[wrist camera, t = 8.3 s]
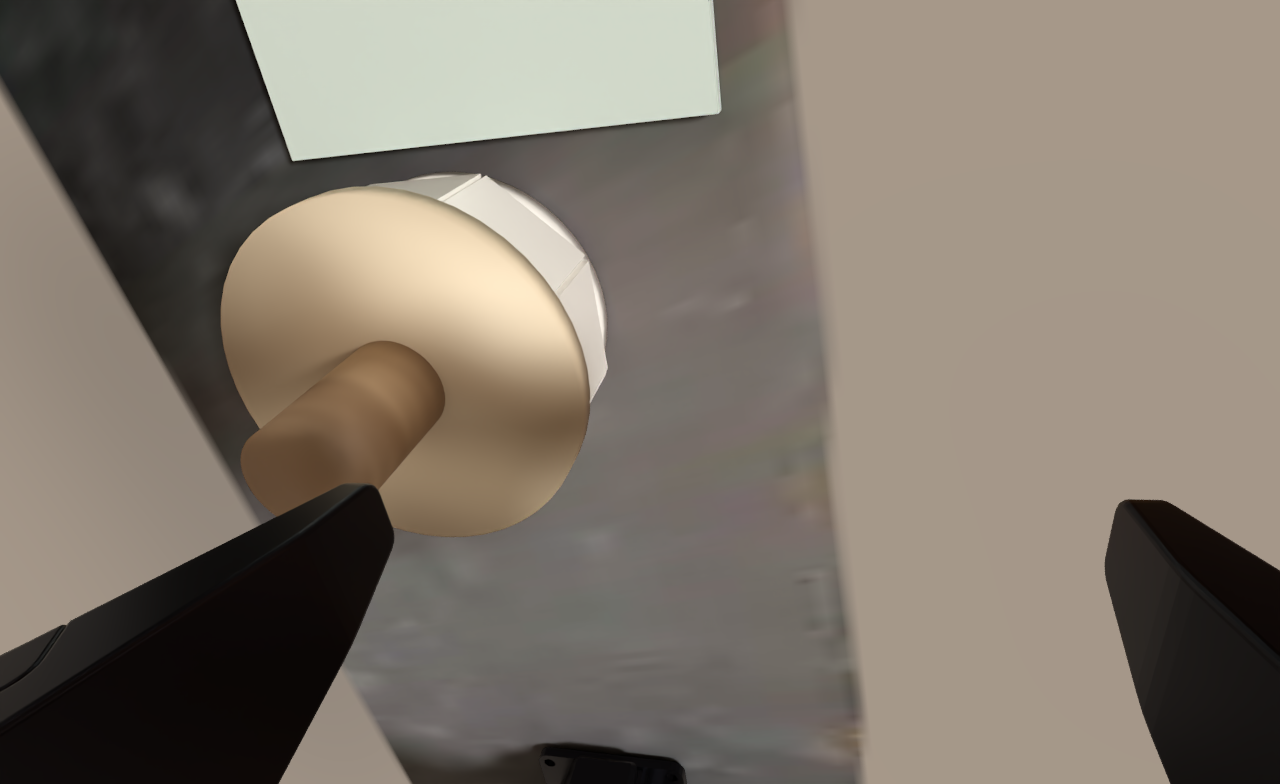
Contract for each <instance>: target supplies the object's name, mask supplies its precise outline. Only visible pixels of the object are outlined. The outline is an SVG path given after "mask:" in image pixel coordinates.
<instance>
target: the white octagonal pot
mask: <svg viewBox="0 0 1280 784" xmlns="http://www.w3.org/2000/svg"><path fill="white" fill-rule="evenodd" d="M368 186H379V187H387V188H395V189H403V190H407V191H411V192H414V193H418V194H422V195H426V196H429V197H432V198H434V199H437V200H439V201H442V202H444V203H447V204H449V205H452V206H454V207H456V208H458V209H460V210H462V211H464V212H465V213H467V214H469V215H471V216H473V217H474V218H476V219H478V220H480V221H481V222H483V223H484V224H486V225H487V226H488V227H490V228H491V229H493V230H494V231H496V232H497V233H498V234H500V235H501V236H503V237H504V238H505V239H506V240H507V241H508V242H510V243H511V244H512V245H513V246H514V247H515V248H516V249H517V250H518V251H520V252H521V253H522V254H523V255H524V256H525V257H526V258H527V259H528V260H529V261H530V262H531V264H532V265H533V266H534V267H535V268H536V269H537V270H538V271H539V273H540V274H541V275H542V276H543V277H544V278H545V280H546V281H547V283H548V284H549V285H550V287H551V288H552V290H553V291H554V292H555V294H556V295H557V297H558V298H559V299H560V301H561V303H562V305H563V307H564V308H565V310H566V312H567V314H568V316H569V318H570V319H571V321H572V323H573V326H574V328H575V331H576V333H577V336H578V338H579V341H580V343H581V346H582V349H583V353H584V357H585V361H586V365H587V369H588V377H589V385H590V403H591V401H592V399H593V397H594V395H595V393H596V392H597V390H598V388H599V386H600V384H601V382H602V380H603V379H604V377H605V375H606V371H607V369H608V367H607V361H606V356H605V347H606V342H607V325H608V322H607V312H606V304H605V300H604V296H603V292H602V287H601V285H600V282H599V280H598V277H597V274H596V272H595V269H594V267H593V265H592V264H591V262H590V260H589V258H588V256H587V254H586V252H585V251H584V249H583V248H582V246H581V245H580V244H579V242H578V241H577V239H576V238H575V236H574V235H573V234H572V233H571V232H570V231H569V229H568V228H567V227H566V226H565V225H564V224H563V223H562V221H561V220H559V219H558V218H557V217H556V216H555V215H554V214H553V213H552V212H551V211H550V210H548V209H547V208H546V207H545V206H543V205H542V204H541V203H539V202H538V201H536V200H535V199H534V198H532V197H531V196H529V195H528V194H526V193H524V192H522V191H520V190H518V189H517V188H515V187H513V186H511V185H508V184H506V183H503V182H501V181H498V180H496V179H493V178H489V177H488V176H482V175H481V174H473V173H464V172H435V173H429V174H424V175H419V176H416V177H414V178H411V179H408V180H405V181H399V182H389V183H379V184H370V185H368ZM366 187H367V186H366Z"/></svg>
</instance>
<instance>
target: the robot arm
mask: <svg viewBox="0 0 1280 784" xmlns="http://www.w3.org/2000/svg"><path fill="white" fill-rule="evenodd" d="M393 544H394V530H393V527H392V524H391V521H390V519H389V516H388V513H387V511H386V508H385V505H384V503H383V500H382V497H381V495H380V492H379V490H378V489H377V488H376V487H375V486H374V485H372V484H370V483H344V484H341V485H339V486H337V487H335V488H333V489H331V490H329V491H327V492H325V493H323V494H321V495H319V496H317V497H315V498H313V499H311V500H309V501H307V502H305V503H303V504H301V505H299V506H297V507H295V508H293V509H291V510H289V511H287V512H285V513H283V514H281V515H279V516H277V517H275V518H273V519H272V520H270V521H268V522H266V523H264V524H262V525H260V526H258V527H256V528H254V529H252V530H250V531H248V532H246V533H244V534H242V535H240V536H238V537H236V538H234V539H232V540H230V541H228V542H226V543H224V544H222V545H220V546H218V547H216V548H214V549H212V550H210V551H208V552H206V553H204V554H202V555H200V556H198V557H196V558H194V559H192V560H190V561H188V562H186V563H184V564H182V565H180V566H178V567H176V568H174V569H172V570H170V571H168V572H166V573H164V574H162V575H161V576H158V577H156V578H154V579H152V580H150V581H148V582H146V583H144V584H142V585H140V586H138V587H137V588H134V589H133V590H131V591H129V592H127V593H124V594H123V595H121V596H119V597H117V598H115V599H113V600H111V601H109V602H107V603H105V604H103V605H101V606H99V607H97V608H95V609H93V610H91V611H89V612H87V613H85V614H83V615H81V616H79V617H77V618H75V619H73V620H71V621H70V622H69V623H68V624H67V625H61V626H59V627H57V628H55V629H53V630H51V631H49V632H47V633H45V634H43V635H41V636H39V637H37V638H35V639H33V640H31V641H29V642H27V643H25V644H23V645H21V646H19V647H17V648H15V649H13V650H11V651H8V652H6V653H4V654H2V655H0V784H279V782H280V780H281V778H282V776H283V774H284V772H285V771H286V769H287V767H288V765H289V763H290V761H291V759H292V757H293V756H294V754H295V752H296V750H297V748H298V746H299V744H300V742H301V741H302V739H303V737H304V735H305V733H306V731H307V729H308V727H309V726H310V724H311V722H312V720H313V718H314V716H315V714H316V712H317V711H318V709H319V707H320V705H321V703H322V701H323V699H324V697H325V695H326V694H327V692H328V690H329V688H330V686H331V684H332V682H333V680H334V679H335V677H336V675H337V673H338V671H339V669H340V667H341V666H342V664H343V662H344V660H345V658H346V656H347V654H348V652H349V650H350V648H351V646H352V644H353V642H354V639H355V637H356V635H357V633H358V630H359V628H360V626H361V623H362V621H363V618H364V616H365V614H366V611H367V609H368V606H369V604H370V602H371V599H372V597H373V594H374V592H375V589H376V587H377V585H378V582H379V580H380V577H381V575H382V573H383V570H384V568H385V565H386V563H387V560H388V558H389V556H390V553H391V551H392V548H393ZM1105 576H1106V581H1107V585H1108V589H1109V593H1110V597H1111V600H1112V604H1113V608H1114V611H1115V615H1116V619H1117V622H1118V626H1119V630H1120V633H1121V637H1122V641H1123V645H1124V648H1125V652H1126V656H1127V660H1128V663H1129V667H1130V671H1131V674H1132V678H1133V682H1134V685H1135V689H1136V693H1137V696H1138V699H1139V703H1140V706H1141V709H1142V713H1143V715H1144V718H1145V721H1146V724H1147V726H1148V729H1149V732H1150V734H1151V737H1152V739H1153V742H1154V744H1155V747H1156V749H1157V751H1158V754H1159V757H1160V759H1161V762H1162V764H1163V767H1164V769H1165V772H1166V774H1167V776H1168V779H1169V782H1170V784H1280V570H1278V569H1277V568H1275V567H1273V566H1272V565H1270V564H1268V563H1267V562H1265V561H1264V560H1262V559H1260V558H1259V557H1257V556H1256V555H1254V554H1252V553H1251V552H1249V551H1247V550H1246V549H1244V548H1243V547H1241V546H1239V545H1238V544H1236V543H1234V542H1233V541H1231V540H1230V539H1228V538H1226V537H1225V536H1223V535H1221V534H1220V533H1218V532H1216V531H1215V530H1213V529H1211V528H1210V527H1208V526H1207V525H1205V524H1203V523H1202V522H1200V521H1199V520H1197V519H1195V518H1194V517H1192V516H1191V515H1189V514H1187V513H1186V512H1184V511H1182V510H1181V509H1179V508H1178V507H1176V506H1174V505H1172V504H1171V503H1169V502H1167V501H1163V500H1129V499H1128V500H1124V501H1122V502H1121V503H1119V505H1118V507H1117V509H1116V511H1115V515H1114V520H1113V524H1112V529H1111V534H1110V538H1109V543H1108V548H1107V552H1106V557H1105ZM539 763H540V766H541V769H542V772H543V775H544V778H545V781H546V784H687V780H686V775H685V770H684V768H683V767H682V766H681V765H680V764H678V763H675V762H670V761H661V760H653V759H644V758H636V757H627V756H619V755H610V754H602V753H593V752H585V751H576V750H568V749H559V748H551V747H549V748H544V749H543V750H542V752H541V755H540V758H539Z"/></svg>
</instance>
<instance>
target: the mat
mask: <svg viewBox="0 0 1280 784" xmlns="http://www.w3.org/2000/svg"><path fill="white" fill-rule="evenodd" d="M236 2H237V5H238V8H239V11H240V14H241V16H242V19H243V22H244V25H245V28H246V31H247V33H248V36H249V39H250V42H251V45H252V48H253V50H254V53H255V56H256V59H257V62H258V65H259V67H260V70H261V73H262V76H263V79H264V82H265V84H266V87H267V90H268V93H269V96H270V99H271V101H272V104H273V107H274V110H275V113H276V116H277V118H278V121H279V124H280V127H281V130H282V133H283V135H284V138H285V141H286V144H287V147H288V150H289V152H290V155H291V158H292V161H297V160H306V159H315V158H324V157H333V156H342V155H351V154H360V153H369V152H378V151H387V150H396V149H405V148H414V147H423V146H432V145H441V144H450V143H459V142H468V141H477V140H486V139H495V138H504V137H513V136H522V135H531V134H540V133H549V132H558V131H567V130H576V129H585V128H594V127H604V126H613V125H622V124H631V123H640V122H649V121H658V120H667V119H676V118H685V117H694V116H703V115H712V114H719V112H720V111H721V97H720V85H719V72H718V60H717V47H716V34H715V22H714V9H713V0H236Z"/></svg>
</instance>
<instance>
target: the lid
mask: <svg viewBox="0 0 1280 784" xmlns="http://www.w3.org/2000/svg"><path fill="white" fill-rule="evenodd" d="M221 331H222V338H223V346H224V351H225V354H226V358H227V362H228V366H229V369H230V372H231V375H232V377H233V380H234V382H235V385H236V387H237V390H238V392H239V394H240V396H241V398H242V400H243V402H244V404H245V406H246V408H247V410H248V411H249V413H250V414H251V416H252V417H253V419H254V420H255V422H256V424H257V425H258V427H259V428H260V430H258V431H257V432H256V433H255V434H253V435H252V436H251V437H250V438H249V439H248V440H247V441H246V443H245V444H244V446H243V449H242V452H241V468H242V472H243V475H244V478H245V480H246V482H247V484H248V486H249V488H250V489H251V491H252V492H253V494H254V495H255V496H256V498H257V499H258V500H259V501H260V502H261V503H262V504H263V505H264V506H265V507H266V508H267V509H268V510H269V511H270V512H271V513H273V514H274V515H276V516H279V515H281V514H283V513H285V512H287V511H289V510H291V509H293V508H295V507H297V506H299V505H301V504H303V503H305V502H307V501H309V500H311V499H313V498H315V497H317V496H319V495H321V494H323V493H325V492H327V491H329V490H331V489H333V488H335V487H337V486H339V485H341V484H344V483H370V484H372V485H374V486H375V487H376V488H377V489H378V490H379V492H380V495H381V497H382V500H383V503H384V505H385V508H386V511H387V513H388V516H389V519H390V521H391V524H392V527H395V528H398V529H401V530H404V531H409V532H414V533H418V534H423V535H431V536H441V537H468V536H475V535H483V534H487V533H491V532H495V531H499V530H502V529H505V528H507V527H510V526H512V525H514V524H517V523H519V522H521V521H523V520H524V519H526V518H527V517H529V516H531V515H532V514H534V513H535V512H537V511H538V510H539V509H540V508H541V507H542V506H543V505H545V504H546V503H547V502H548V501H549V500H550V499H551V498H552V497H553V495H554V494H555V493H556V492H557V490H558V489H559V488H560V487H561V485H562V483H563V482H564V480H565V478H566V476H567V475H568V473H569V471H570V469H571V467H572V465H573V463H574V461H575V459H576V457H577V455H578V453H579V451H580V449H581V446H582V443H583V440H584V437H585V435H586V431H587V425H588V420H589V414H590V385H589V377H588V369H587V365H586V361H585V357H584V353H583V349H582V346H581V343H580V341H579V338H578V336H577V333H576V331H575V328H574V326H573V323H572V321H571V319H570V318H569V316H568V314H567V312H566V310H565V308H564V307H563V305H562V303H561V301H560V299H559V298H558V297H557V295H556V294H555V292H554V291H553V290H552V288H551V287H550V285H549V284H548V283H547V281H546V280H545V278H544V277H543V276H542V275H541V274H540V273H539V271H538V270H537V269H536V268H535V267H534V266H533V265H532V264H531V262H530V261H529V260H528V259H527V258H526V257H525V256H524V255H523V254H522V253H521V252H520V251H518V250H517V249H516V248H515V247H514V246H513V245H512V244H511V243H510V242H508V241H507V240H506V239H505V238H504V237H503V236H501V235H500V234H498V233H497V232H496V231H494V230H493V229H491V228H490V227H488V226H487V225H486V224H484V223H483V222H481V221H480V220H478V219H476V218H474V217H473V216H471V215H469V214H467V213H465V212H464V211H462V210H460V209H458V208H456V207H454V206H452V205H449V204H447V203H444V202H442V201H439V200H437V199H434V198H432V197H429V196H426V195H422V194H418V193H414V192H411V191H407V190H403V189H395V188H387V187H379V186H367V187H349V188H343V189H337V190H331V191H328V192H325V193H322V194H319V195H316V196H313V197H311V198H308V199H306V200H304V201H301V202H299V203H297V204H295V205H292V206H290V207H288V208H286V209H284V210H283V211H281V212H279V213H277V214H275V215H274V216H272V217H270V218H269V219H267V220H266V221H265V222H264V223H263V224H261V225H260V226H259V227H258V228H257V229H256V230H254V231H253V232H252V233H251V235H250V236H249V237H248V238H247V240H246V241H245V242H244V243H243V245H242V246H241V247H240V249H239V251H238V252H237V254H236V256H235V258H234V260H233V262H232V264H231V265H230V268H229V271H228V274H227V278H226V281H225V284H224V289H223V295H222V302H221Z"/></svg>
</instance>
